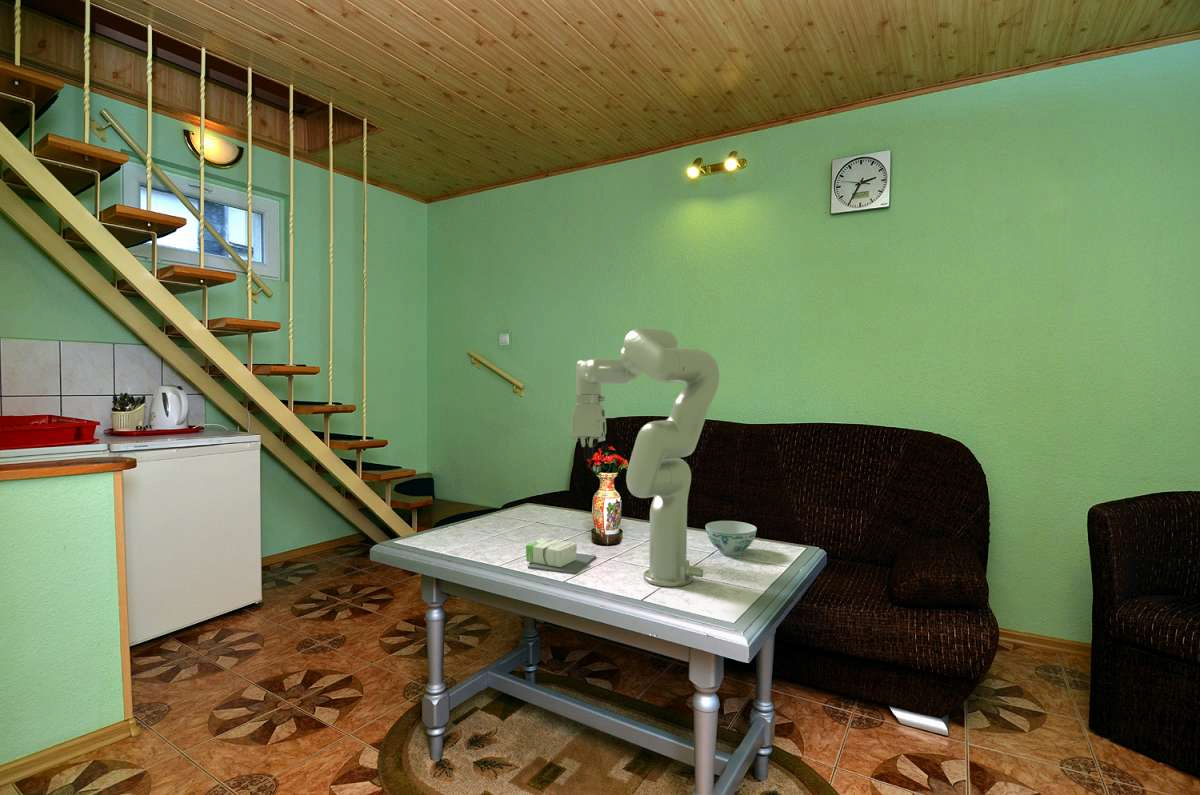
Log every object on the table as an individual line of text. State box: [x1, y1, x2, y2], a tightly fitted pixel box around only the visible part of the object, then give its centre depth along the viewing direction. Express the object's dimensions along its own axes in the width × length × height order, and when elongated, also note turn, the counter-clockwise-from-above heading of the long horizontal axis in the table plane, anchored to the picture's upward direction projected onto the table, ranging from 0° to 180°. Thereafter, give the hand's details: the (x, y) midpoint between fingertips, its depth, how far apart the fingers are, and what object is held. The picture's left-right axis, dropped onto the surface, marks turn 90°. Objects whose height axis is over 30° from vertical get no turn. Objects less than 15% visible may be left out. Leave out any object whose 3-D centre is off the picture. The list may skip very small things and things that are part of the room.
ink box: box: [525, 537, 578, 567], centre depth 165 cm, size 9×5×12 cm
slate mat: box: [527, 552, 597, 575], centre depth 165 cm, size 14×16×1 cm
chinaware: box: [705, 520, 758, 557], centre depth 176 cm, size 15×15×8 cm
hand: (588, 459), depth 180 cm, fingers closed
